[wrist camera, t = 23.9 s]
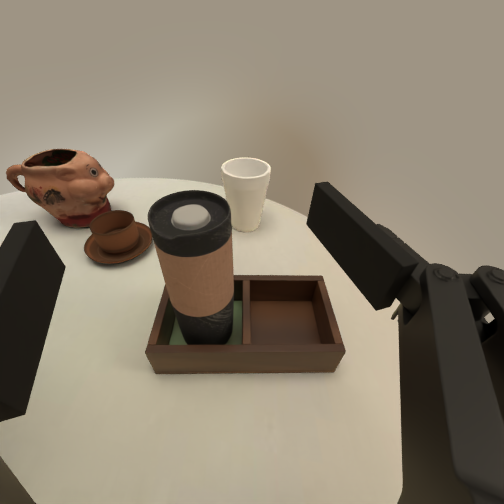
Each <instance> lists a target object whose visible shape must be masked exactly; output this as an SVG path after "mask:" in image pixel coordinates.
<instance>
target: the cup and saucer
mask: <svg viewBox="0 0 504 504" xmlns="http://www.w3.org/2000/svg"><path fill="white" fill-rule="evenodd" d="M89 227H90V230H91V232H92V235H91V236H90V237H89V238H88V239H87V241H86V243H85V245H84V251H85V253H86V255H87V256H88V257H89V258H90V259H92V260H94V261H96V262H100V263H120V262H124V261H128V260H130V259H133V258H135V257H137V256H138V255H140V254H141V253H143V252H144V251H145V250H146V249H147V248H148V247H149V245H150V244H151V242H152V233H151V230H150V228H149V227H148V226H146V225H145V224H142V223H139V222H135V220H134V217H133V215H132V214H131V213H130V212H127V211H122V210H115V211H109V212H105V213H103V214H100V215H98V216H97V217H95V218H94V219H93V220H92V221H91V222H90V225H89Z"/></svg>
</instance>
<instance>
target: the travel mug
mask: <svg viewBox="0 0 504 504" xmlns="http://www.w3.org/2000/svg"><path fill="white" fill-rule="evenodd" d="M148 222H149V226H150V230H151V233H152V237H153V240H154V244H155V248H156V251H157V255H158V258H159V262H160V266H161V269H162V273H163V276H164V280H165V284H166V287H167V291H168V294H169V298H170V301H171V304H172V307H173V310H174V313H175V316H176V319H177V321H178V324H179V327H180V330H181V333H182V335H183V338H184V340H185V342H186V343H187V345H225V344H226V343H227V341H228V340H229V339H230V337H231V334H232V331H233V309H234V277H233V251H232V225H231V209H230V206H229V204H228V202H227V201H226V200H225V199H224V198H222V197H221V196H219V195H217V194H214V193H211V192H207V191H199V190H189V191H181V192H176V193H173V194H170V195H167V196H165V197H163V198H161V199H159V200H158V201H156V202H155V203H154V204H153V205H152V206H151V208H150V210H149V212H148Z"/></svg>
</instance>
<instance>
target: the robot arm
mask: <svg viewBox="0 0 504 504" xmlns="http://www.w3.org/2000/svg"><path fill="white" fill-rule="evenodd" d="M307 226H308V227H309V228H310V229H311V231H312V232H313V233H314V234H315V236H316V237H317V238H318V239H319V241H320V242H321V243H322V244H323V246H324V247H325V248H326V249H327V251H328V252H329V253H330V254H331V255H332V257H333V258H334V259H335V260H336V262H337V263H338V264H339V265H340V267H341V268H342V269H343V270H344V272H345V273H346V274H347V275H348V277H349V278H350V279H351V280H352V282H353V283H354V284H355V285H356V287H357V288H358V289H359V290H360V292H361V293H362V294H363V295H364V296H365V298H366V299H367V300H368V301H369V303H370V304H371V305H372V306H373V308H374V309H375V310H376V311H377V310H380V309H384V308H387V307H390V306H391V305H392V303H393V302H394V300H395V298H397V299H398V300H399V301H400V305H399V306H398V308H397V309H396V311H395V312H394V313H393V315H392V318H391V319H392V320H394V319H395V317H396V316H397V315H398V325H399V362H400V398H401V435H402V471H403V488H402V494H401V496H400V498H399V501H398V503H397V504H504V270H502V269H499V268H496V267H492V266H481V267H479V268H478V269H477V270H476V271H475V272H474V273H473V274H458V273H457V272H456V271H455V270H453V269H451V268H450V267H448V266H445V265H442V264H436V263H434V264H429V263H428V262H427V261H426V260H424V259H423V258H422V257H421V256H420V255H419V254H417V253H416V252H415V251H414V250H413V249H412V248H410V247H409V246H408V245H407V244H406V243H404V242H403V241H402V240H401V239H400V238H397V236H396V235H395V234H394V233H393V232H392V231H391V230H389V229H388V228H386V227H384V226H382V225H380V224H375V223H374V222H373V221H372V220H370V219H369V218H368V217H367V216H366V215H365V214H364V213H363V212H361V211H360V210H359V209H358V208H357V207H356V206H355V205H353V204H352V203H351V202H350V201H349V200H348V199H347V198H345V197H344V196H343V195H342V194H341V193H340V192H339V191H338V190H336V189H335V188H334V187H333V186H332V185H331V184H330V183H329V182H321V183H315V187H314V192H313V196H312V201H311V205H310V210H309V214H308V219H307ZM64 271H65V265H64V264H63V262H62V260H61V259H60V257H59V256H58V254H57V253H56V251H55V250H54V248H53V246H52V245H51V243H50V242H49V240H48V239H47V237H46V236H45V234H44V232H43V231H42V229H41V228H40V226H39V225H38V223H37V221H36V220H35V221H27V222H19V223H14V224H13V226H12V227H11V229H10V231H9V233H8V234H7V236H6V238H5V240H4V241H3V243H2V245H1V247H0V422H1V421H5V420H8V419H12V418H15V417H18V416H22V415H25V413H26V409H27V406H28V402H29V398H30V395H31V391H32V387H33V384H34V380H35V376H36V373H37V369H38V366H39V362H40V358H41V355H42V351H43V347H44V344H45V340H46V336H47V333H48V329H49V325H50V322H51V318H52V315H53V311H54V307H55V304H56V300H57V296H58V293H59V289H60V285H61V282H62V278H63V274H64ZM490 312H491V314H492V315H493V317H494V318H495V319H494V320H493V321H491V322H490V323H488V322H487V321H486V320H485V318H484V317H485V316H486V315H487V314H488V313H490ZM0 504H36V503H35V502H34V501H33V499H32V498H31V497H30V495H29V494H28V493H27V491H26V490H25V489H24V487H23V486H22V485H21V483H20V482H19V481H18V479H17V478H16V477H15V475H14V474H13V473H12V471H11V470H10V469H9V467H8V466H7V465H6V463H5V462H4V461H3V459H2V458H1V457H0Z"/></svg>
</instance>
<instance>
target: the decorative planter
mask: <svg viewBox="0 0 504 504" xmlns="http://www.w3.org/2000/svg"><path fill="white" fill-rule="evenodd" d="M6 174H7V179H8V180H9V181H10V182H11V184H12V185H13V186H14V187H15V188H17V189H18V190H20V191H22V192H26V193H27V195H28V197H29V198H30V199H31V200H32V201H33V202H35V203H36V204H38V205H39V206H41V207H42V208H44V209H45V210H46V211H48V212H49V213H50V214H51V215H53V216H54V217H55V218H56V219H58V220H59V221H60V222H61V223H62V224H63V225H65V226H68V227H76V228H78V227H89V225H90V222H91V221H92V220H93V219H94V218H95V217H97V216H98V215H100V214H103V213H105V212H109V211H111V206H110V203H109V200H108V198H107V196H106V195H107V193H109V192H110V191H111V190H112V188H113V187H114V180H113V178H112V177H110V176H109V174H108V173H107V172H106V171H105V170H104V169H103V168H102V167H101V165H100V164H99V163H98V161H97V160H96V159H94V158H93V157H91V156H90V155H88V154H87V153H85V152H83V151H77V150H71V149H51V150H46V151H43V152H40V153H37V154H35V155H32V156H30V157H29V158H27V159H26V160H24V161H23V163H22V165H13V166H11V167H9V168H8V169H7V171H6ZM18 175H23V176H24V177H25V188H24V187H23V186H22V185H21V184H20V183H19V181H18V178H17V176H18Z"/></svg>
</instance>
